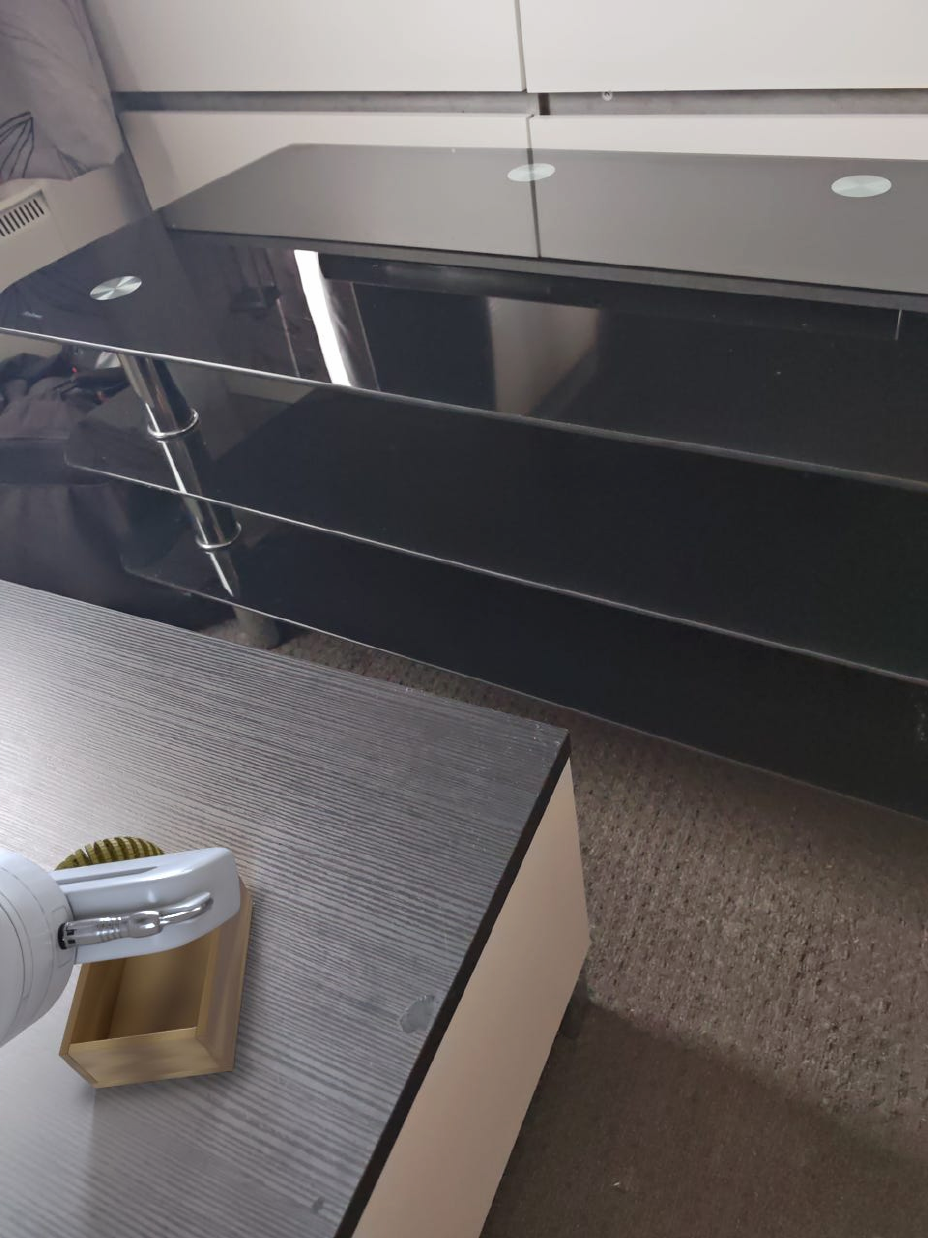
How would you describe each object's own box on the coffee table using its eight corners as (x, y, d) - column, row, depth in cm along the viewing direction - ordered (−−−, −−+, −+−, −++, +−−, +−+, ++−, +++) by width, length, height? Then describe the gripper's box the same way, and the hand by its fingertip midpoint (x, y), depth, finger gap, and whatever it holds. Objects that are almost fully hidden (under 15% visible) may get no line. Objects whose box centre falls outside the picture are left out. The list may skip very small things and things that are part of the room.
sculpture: (84, 994, 55) (21, 926, 50) (64, 946, 58) (4, 877, 53) (203, 915, 58) (156, 843, 53) (180, 873, 61) (133, 800, 56)
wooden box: (94, 1089, 59) (57, 1055, 56) (133, 917, 68) (103, 879, 65) (233, 1071, 59) (205, 1035, 55) (253, 900, 68) (230, 860, 64)
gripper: (179, 850, 41) (264, 803, 55) (-252, 913, 42) (-62, 852, 56) (198, 992, 41) (279, 909, 55) (-237, 1052, 42) (-50, 956, 56)
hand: (104, 881), depth 55 cm, fingers closed on sculpture, 7 cm apart
